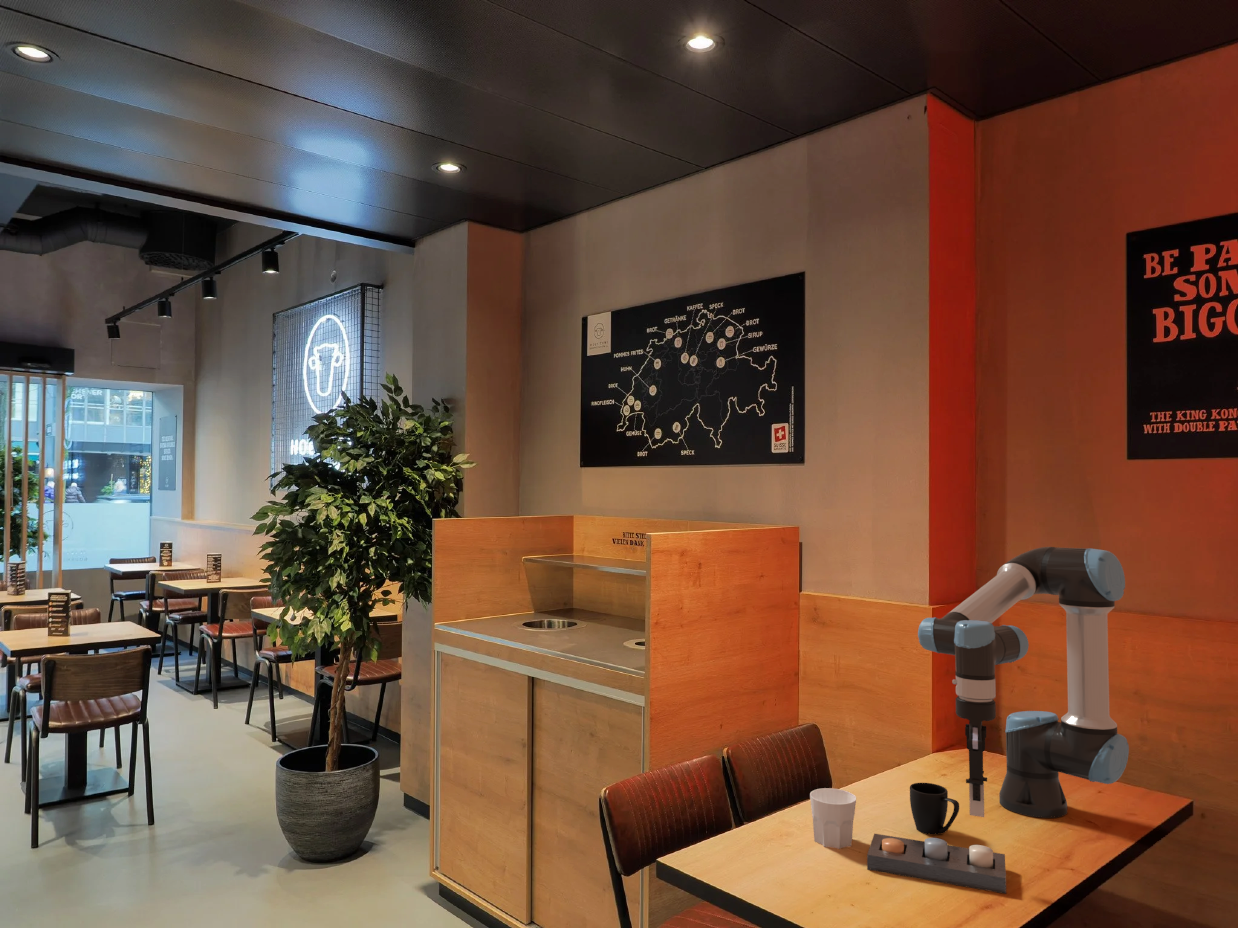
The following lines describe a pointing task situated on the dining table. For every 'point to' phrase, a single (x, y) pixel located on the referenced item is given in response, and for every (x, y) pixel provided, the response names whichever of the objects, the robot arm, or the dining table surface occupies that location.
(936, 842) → the button slate
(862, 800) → the dining table surface
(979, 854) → the button cream
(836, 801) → the cup
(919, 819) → the mug
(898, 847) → the button orange
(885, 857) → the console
